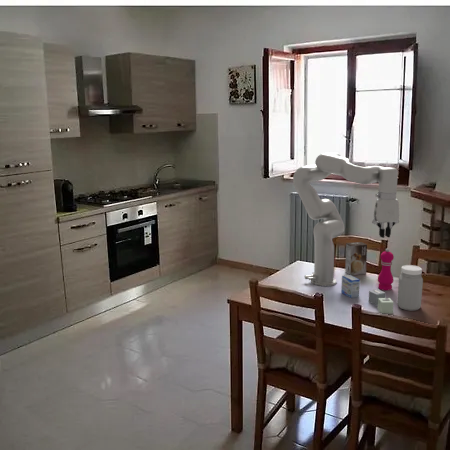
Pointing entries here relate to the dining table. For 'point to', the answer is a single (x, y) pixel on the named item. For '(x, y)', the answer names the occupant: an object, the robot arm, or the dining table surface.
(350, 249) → the coffee box
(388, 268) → the pepper mill
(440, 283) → the dining table surface
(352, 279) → the medicine box
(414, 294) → the jar
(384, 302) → the sage block
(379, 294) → the slate block
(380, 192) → the robot arm
